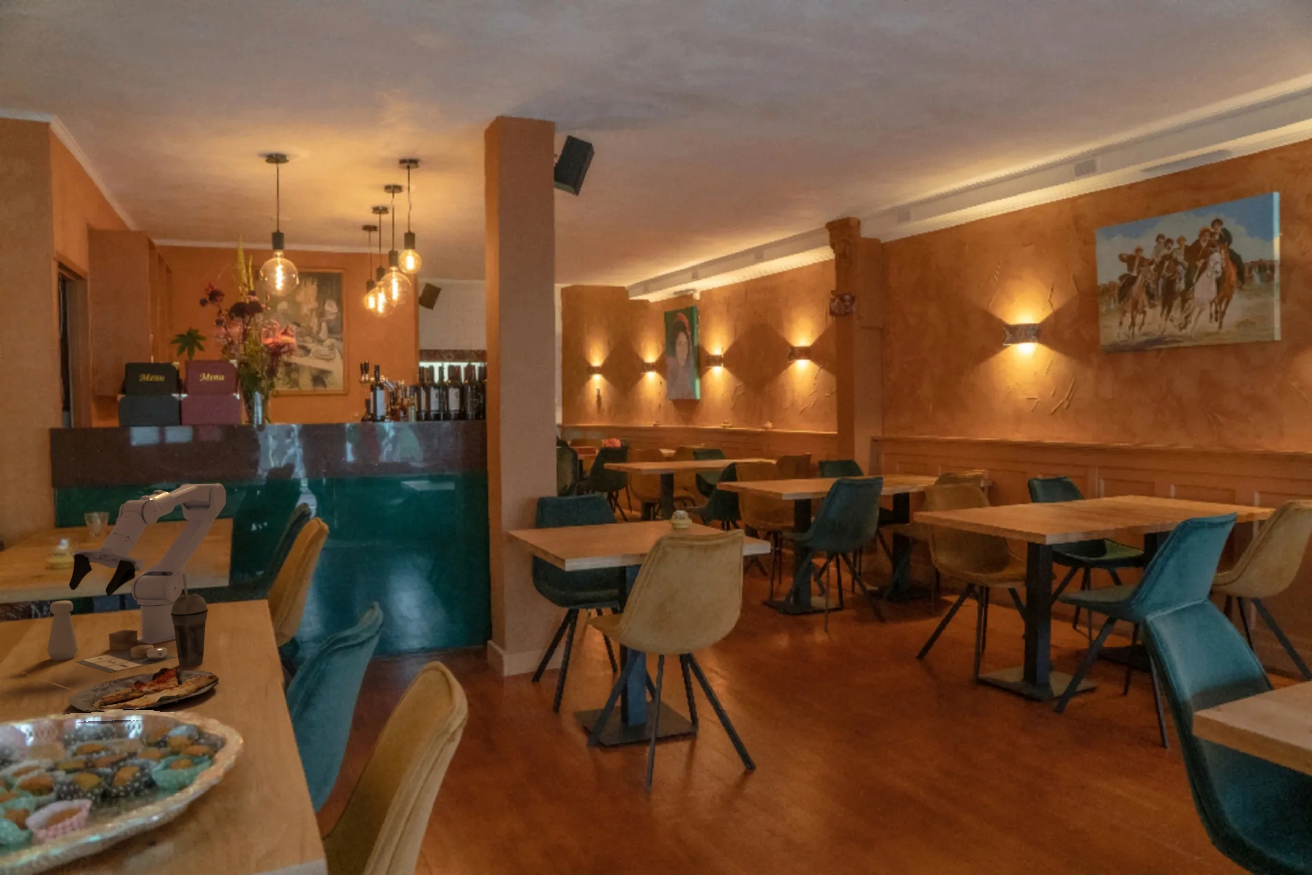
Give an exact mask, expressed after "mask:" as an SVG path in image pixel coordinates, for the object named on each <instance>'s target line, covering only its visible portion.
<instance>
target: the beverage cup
mask: <svg viewBox="0 0 1312 875" xmlns="http://www.w3.org/2000/svg"><path fill="white" fill-rule="evenodd" d="M186 576H187V575H186V573H183V582H184V585H183V589H184V594H181V595H180V596H179V597H178V598H177V599H176V600H175V602H174V604H173V606H172V612H171V615H172V621H173V624H174V630H175V638H176V639H175V644H176V654H177V659H178V664H179V667H182V668H186V667H187V668H188V667H189V668H190V667H195V666H200V665H203V661H204V653H205V652H204V651H205V639H206V638H205V635H206V621H207V618H208V611H209V608H208V604H207V602H206V600H205V599H204V597H203V596H201V595H200V594H198V593H195V592H188V585H187V577H186Z"/></svg>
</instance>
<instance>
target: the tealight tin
mask: <svg viewBox="0 0 1312 875" xmlns="http://www.w3.org/2000/svg"><path fill="white" fill-rule="evenodd" d="M167 655H168V648H167V647H164V646H163V647H153V648H152V649H149V650H147V661H160V660H164V659H167ZM164 661H165V660H164ZM160 662H161V661H160Z"/></svg>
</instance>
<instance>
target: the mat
mask: <svg viewBox="0 0 1312 875" xmlns="http://www.w3.org/2000/svg"><path fill="white" fill-rule="evenodd" d="M173 659H178V656H177V657H176V656H173V655H168V654H167V659H164V660H160V661H147V658H140V659H134V658H131V649H128V650H123V651H120V652H114V653H111V654H103V655H100V656H94V657H90V658H85V659H81V660H78V661H75V663H77V664H80V665H84V666H87V667H90V668H93V669H97V670H99V671H103V672H105V673H109V674H110V673H116V672H121V671H123V670H127V669H128V670H129V669H132V668H137V667H141V666H146V665H151V664H155V663H160V662H163V661H167V660H173Z"/></svg>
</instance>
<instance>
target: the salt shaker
mask: <svg viewBox="0 0 1312 875" xmlns="http://www.w3.org/2000/svg"><path fill="white" fill-rule="evenodd" d="M49 605H50V606H49V611H50V613H51V614H53V618H52V623H51V629H50V633H49V639H48V645H47V649H46V651H47V654H48V656H49V658H50V659H51V661H59V662H60V661H66V660H70V659H73V658H75V657H76V655H77V652H78V649H79V645H78V641H77V636H76V632H75V627H74V624H73V618H72V615H71V612H72V611H73V609H74V604H73V602H72V601H71V600H57V601H54V602H52V603H51V604H49Z"/></svg>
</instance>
